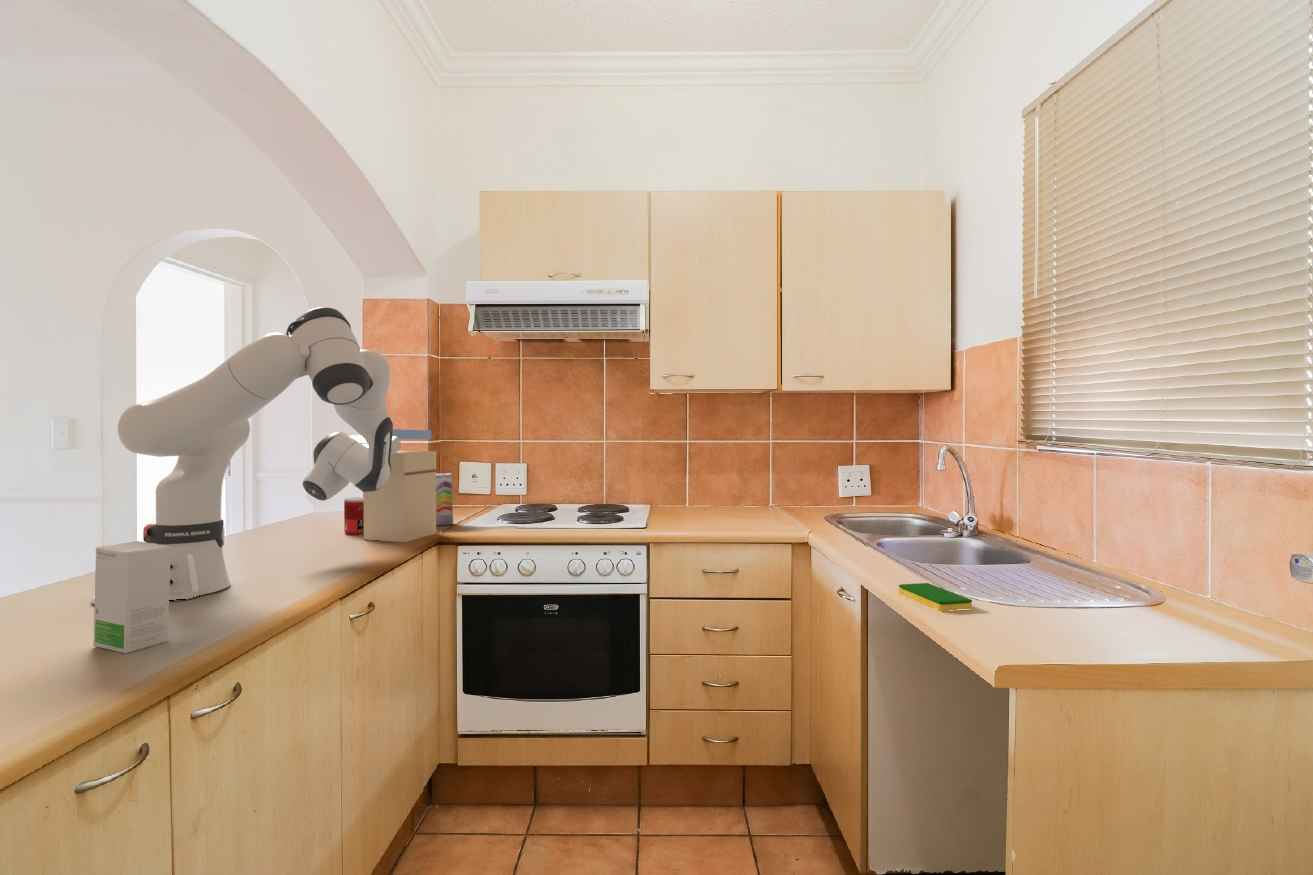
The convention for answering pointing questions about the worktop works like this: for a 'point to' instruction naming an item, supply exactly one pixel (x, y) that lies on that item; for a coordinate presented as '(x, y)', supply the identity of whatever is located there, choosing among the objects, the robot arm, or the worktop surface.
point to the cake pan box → (444, 499)
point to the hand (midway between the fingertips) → (380, 432)
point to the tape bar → (412, 434)
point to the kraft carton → (403, 500)
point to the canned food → (354, 516)
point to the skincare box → (131, 596)
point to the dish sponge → (935, 596)
